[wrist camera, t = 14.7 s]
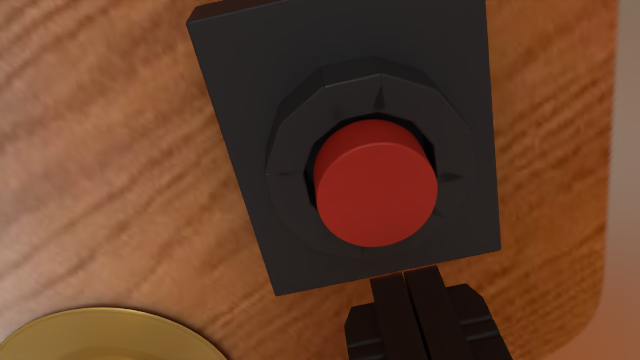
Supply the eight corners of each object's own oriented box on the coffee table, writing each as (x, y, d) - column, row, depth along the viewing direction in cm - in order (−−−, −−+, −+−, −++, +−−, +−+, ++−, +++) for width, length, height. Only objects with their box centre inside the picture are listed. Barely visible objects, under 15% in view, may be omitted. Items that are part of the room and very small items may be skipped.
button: (302, 132, 17) (304, 158, 16) (417, 106, 17) (431, 130, 15) (325, 227, 19) (329, 258, 17) (430, 205, 19) (444, 234, 17)
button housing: (194, 6, 19) (174, 37, 15) (461, -56, 18) (504, -39, 15) (275, 263, 24) (274, 330, 20) (483, 219, 24) (519, 280, 20)
